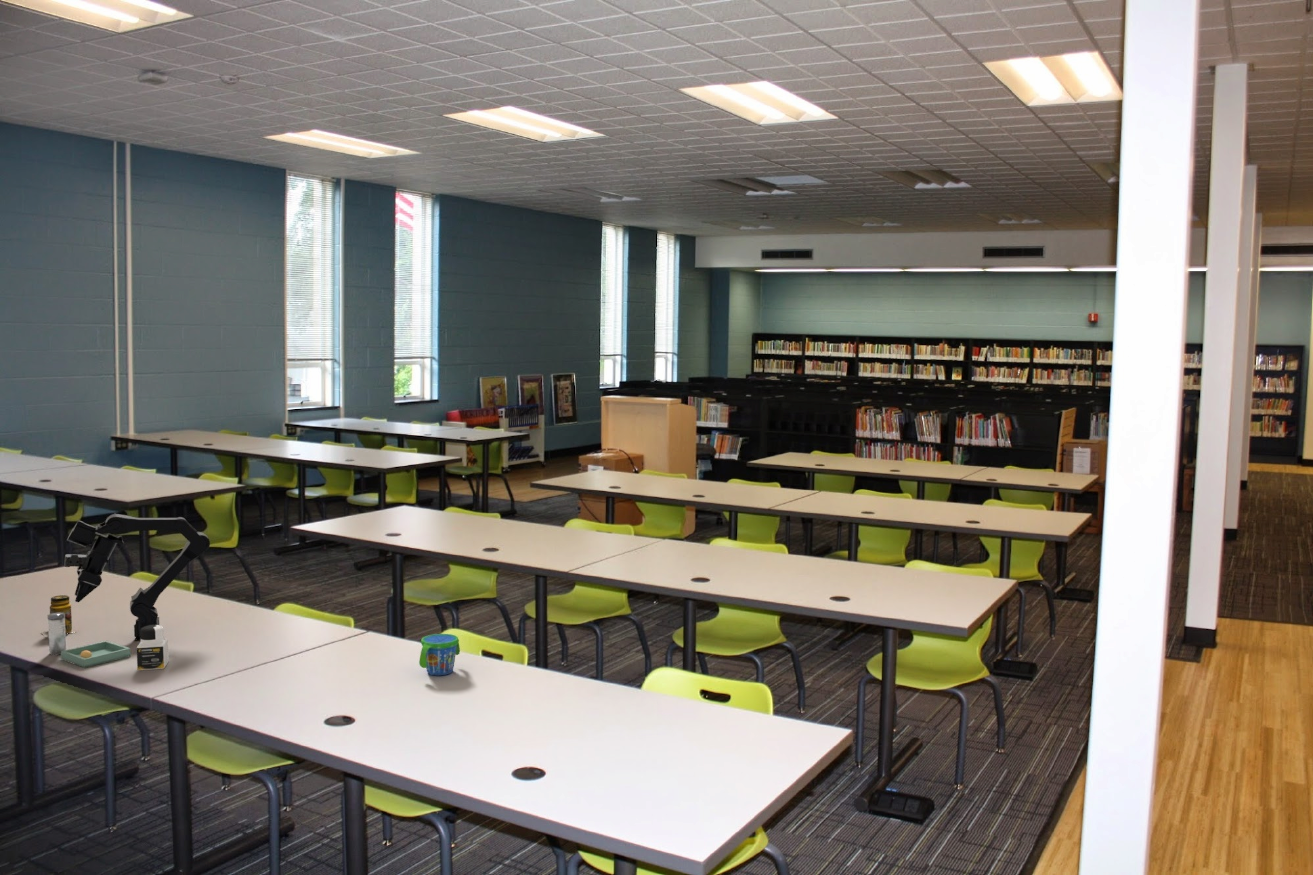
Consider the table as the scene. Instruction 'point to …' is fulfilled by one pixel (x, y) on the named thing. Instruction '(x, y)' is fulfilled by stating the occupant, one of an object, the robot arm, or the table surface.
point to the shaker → (56, 633)
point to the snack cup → (439, 653)
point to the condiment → (61, 611)
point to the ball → (86, 654)
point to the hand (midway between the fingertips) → (76, 598)
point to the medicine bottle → (152, 648)
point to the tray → (96, 653)
